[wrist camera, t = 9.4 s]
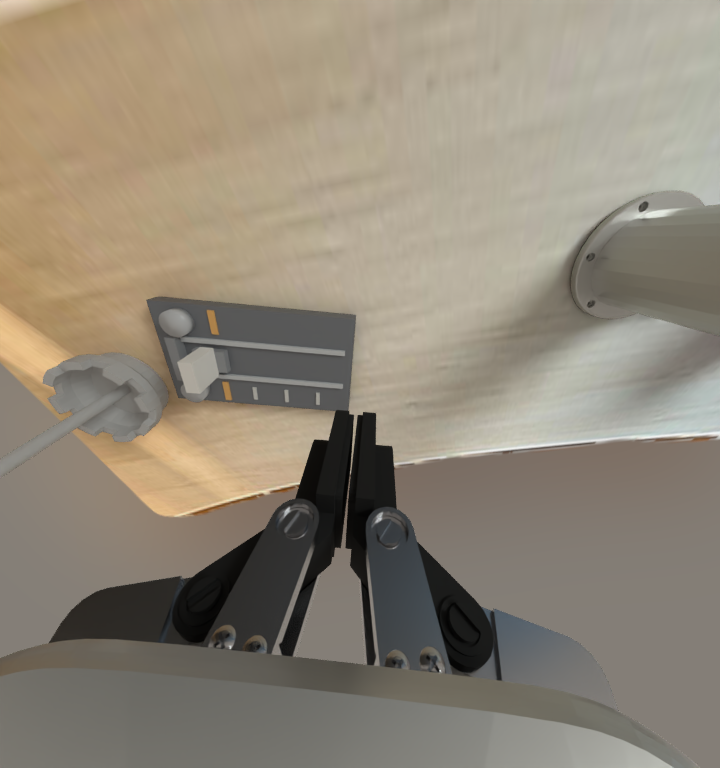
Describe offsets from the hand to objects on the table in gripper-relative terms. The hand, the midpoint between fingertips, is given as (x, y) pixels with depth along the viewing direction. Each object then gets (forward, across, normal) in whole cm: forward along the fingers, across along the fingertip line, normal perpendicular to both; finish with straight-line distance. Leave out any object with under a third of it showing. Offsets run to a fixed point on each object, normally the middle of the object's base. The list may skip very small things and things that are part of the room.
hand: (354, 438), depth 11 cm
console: (+24, +14, +8) cm, 29 cm away
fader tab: (+21, +20, +8) cm, 30 cm away
